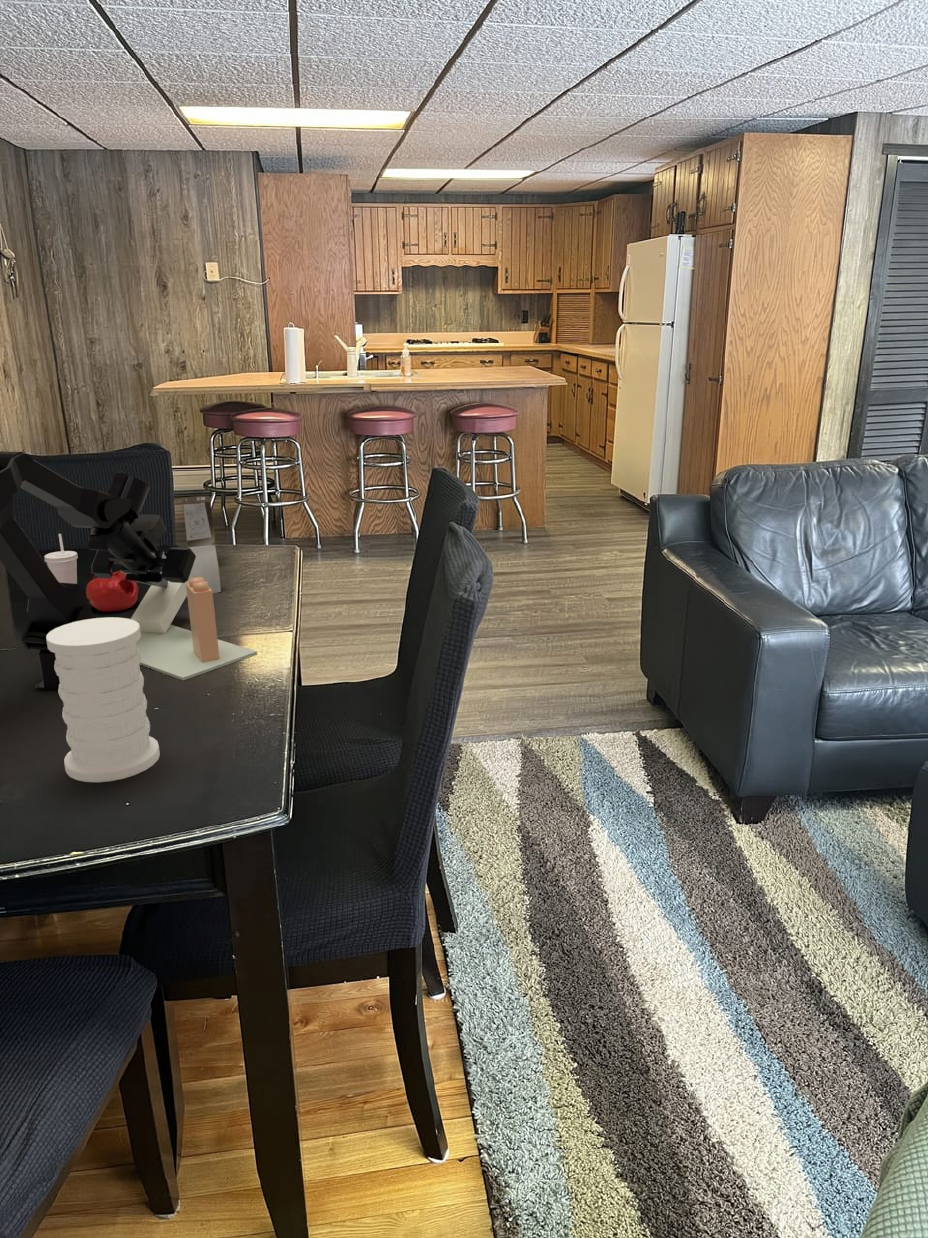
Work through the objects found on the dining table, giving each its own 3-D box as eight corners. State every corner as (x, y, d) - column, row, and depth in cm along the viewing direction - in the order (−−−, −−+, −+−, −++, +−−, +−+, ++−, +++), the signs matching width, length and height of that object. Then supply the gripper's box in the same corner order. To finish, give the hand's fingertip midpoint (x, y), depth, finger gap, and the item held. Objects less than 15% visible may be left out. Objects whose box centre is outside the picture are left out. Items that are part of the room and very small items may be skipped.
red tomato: (86, 618, 175) (78, 572, 172) (92, 603, 184) (84, 560, 181) (139, 612, 178) (131, 567, 174) (142, 597, 187) (135, 555, 184)
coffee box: (218, 568, 209) (211, 501, 204) (189, 571, 207) (182, 503, 202) (216, 559, 217) (209, 494, 212) (189, 562, 216) (181, 496, 211)
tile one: (158, 622, 161) (188, 571, 169) (129, 620, 162) (160, 569, 171) (165, 633, 163) (194, 582, 171) (136, 631, 164) (166, 580, 173)
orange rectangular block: (201, 662, 148) (193, 586, 144) (193, 651, 153) (185, 577, 149) (219, 658, 150) (211, 583, 146) (211, 648, 155) (203, 575, 151)
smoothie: (72, 604, 183) (61, 537, 179) (44, 602, 185) (33, 536, 180) (90, 595, 189) (80, 531, 185) (63, 594, 191) (53, 530, 186)
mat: (183, 680, 142) (182, 677, 142) (86, 644, 159) (85, 642, 159) (257, 654, 153) (256, 651, 153) (158, 623, 170) (158, 620, 170)
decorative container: (170, 740, 121) (154, 615, 116) (144, 781, 110) (125, 645, 105) (85, 742, 121) (64, 617, 115) (50, 784, 110) (26, 647, 104)
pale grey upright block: (221, 592, 190) (216, 547, 187) (188, 596, 188) (183, 550, 185) (218, 588, 193) (213, 543, 190) (186, 592, 191) (181, 546, 188)
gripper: (184, 504, 155) (222, 550, 168) (91, 501, 159) (136, 546, 173) (164, 559, 150) (205, 602, 164) (69, 554, 155) (117, 596, 168)
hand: (165, 585), depth 167 cm, fingers closed, pressing on tile one
